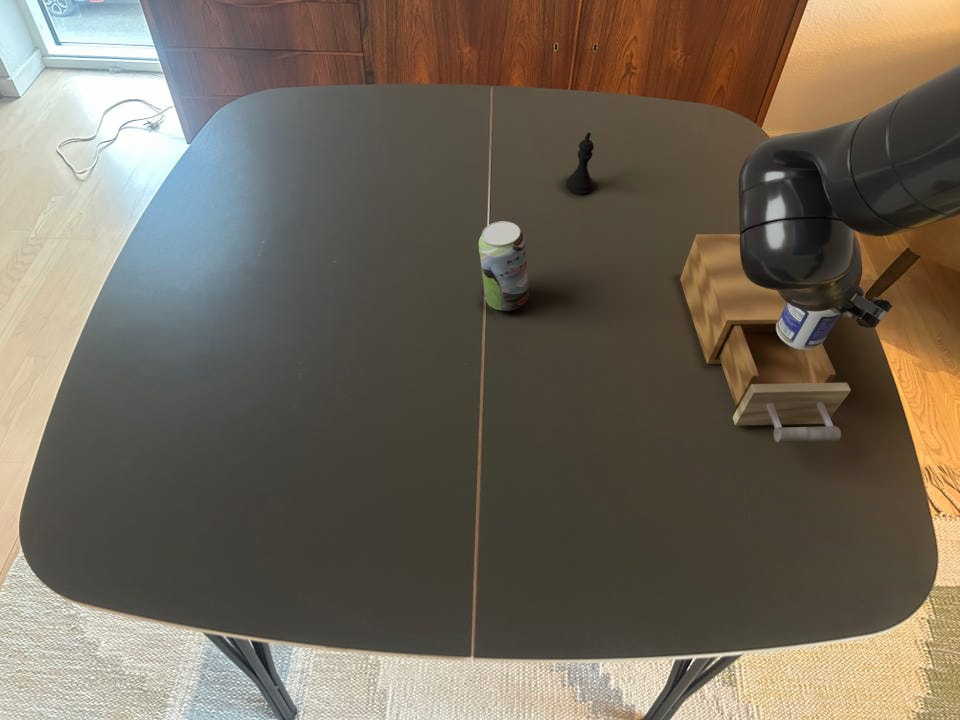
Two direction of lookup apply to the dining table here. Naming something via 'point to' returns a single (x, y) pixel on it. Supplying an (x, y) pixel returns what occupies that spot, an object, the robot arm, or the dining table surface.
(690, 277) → the cabinet
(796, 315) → the pill bottle
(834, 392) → the drawer
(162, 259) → the dining table surface
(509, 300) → the beverage can
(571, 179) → the chess piece
